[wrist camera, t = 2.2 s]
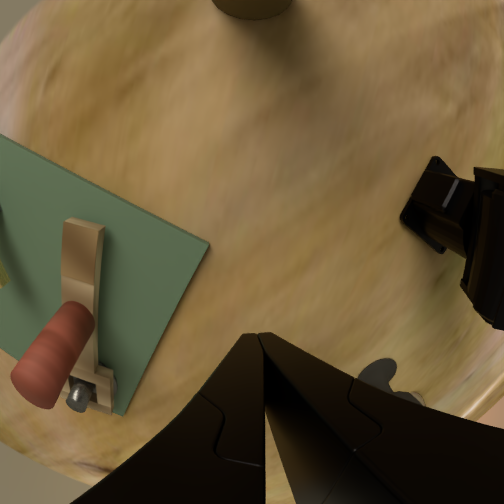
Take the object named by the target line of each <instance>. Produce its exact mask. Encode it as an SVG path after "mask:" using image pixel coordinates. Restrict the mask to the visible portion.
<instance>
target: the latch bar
mask: <svg viewBox="0 0 504 504" xmlns="http://www.w3.org/2000/svg"><path fill="white" fill-rule="evenodd" d="M105 227H106V226H105V225H101V224H97V223H93V222H90V221H86V220H82V219H78V218H75V217H71V218H69V219H67V220H65V221H64V222H63V233H62V249H61V296H62V306H61V307H60V308H59V309H58V311H57V312H56V313H55V314H54V316H53V317H52V318H51V319H50V321H49V322H48V323H47V324H46V326H45V327H44V328H43V329H42V331H41V332H40V333H39V335H38V336H37V337H36V339H35V340H34V341H33V342H32V344H31V345H30V347H29V348H28V349H27V351H26V352H25V353H24V355H23V356H22V358H21V359H20V360H19V362H18V363H17V365H16V366H15V368H14V369H13V370H12V372H11V381H12V383H13V385H14V387H15V388H16V390H17V391H18V392H19V393H20V394H21V395H22V396H23V397H24V398H25V399H26V400H27V401H29V402H30V403H32V404H33V405H35V406H37V407H40V408H43V409H51V408H53V407H54V405H55V403H56V401H57V399H58V397H59V395H60V397H61V398H64V399H67V397H68V395H69V393H70V390H71V388H72V386H73V384H74V380H73V376H74V377H77V378H80V379H82V380H85V381H88V382H91V383H94V384H96V390H97V393H94V392H93V393H92V395H91V398H90V400H89V403H88V405H87V407H88V408H91V409H94V410H97V411H100V412H103V413H106V414H109V415H112V412H113V409H114V388H113V370H112V369H109V368H106V367H103V366H99V365H98V302H99V285H100V271H101V260H102V251H103V242H104V234H105Z"/></svg>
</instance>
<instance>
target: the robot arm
mask: <svg viewBox="0 0 504 504" xmlns="http://www.w3.org/2000/svg"><path fill="white" fill-rule="evenodd" d="M436 160H437V164H436ZM474 175H475V182H474V181H470V180H466V179H462V178H458V177H457V176H456V175H455V174H454V173H453V172H452V170H451V169H450V168H449V167H448V166H447V165H446V164H445V162H444V161H443V160H442V159H441V158H440V157H439V156H433V157H432V158H431V160H430V162H429V164H428V166H427V167H426V169H425V171H424V172H423V174H422V176H421V178H420V180H419V182H418V184H417V185H416V187H415V189H414V191H413V193H412V194H411V197H410V199H409V200H408V202H407V204H406V206H405V207H404V209H403V211H402V213H401V215H400V220H401V221H402V222H403V223H404V224H405V225H406V226H407V227H409V228H410V229H411V230H412V231H413V232H415V233H416V234H417V235H418V236H419V237H420V238H422V239H423V240H424V241H425V242H426V243H427V244H428V245H429V246H431V247H432V248H433V249H434V250H435V251H436V252H437V253H439V254H443V253H444V252H445V251H446V249H447V248H448V249H450V250H452V251H454V252H455V253H457V254H459V255H460V256H462V257H464V258H465V259H466V263H465V269H464V274H463V278H462V279H461V283H460V287H461V288H462V289H463V291H464V292H465V294H466V295H467V297H468V298H469V299H470V301H471V302H472V304H473V308H474V309H475V311H476V312H477V313H479V315H480V316H481V317H482V318H483V319H484V320H485V322H487V323H489V324H491V325H492V327H493V328H494V329H498V330H503V331H504V170H503V169H494V168H483V167H474ZM406 215H407V218H406V219H405V216H406ZM441 247H442V248H441ZM440 249H441V250H440ZM265 412H266V415H267V419H268V422H269V425H270V428H271V431H272V434H273V437H274V440H275V443H276V446H277V449H278V452H279V455H280V458H281V461H282V464H283V467H284V470H285V473H286V476H287V479H288V482H289V485H290V487H291V490H292V493H293V496H294V499H295V502H296V504H504V429H501V428H497V427H493V426H489V425H485V424H481V423H478V422H474V421H471V420H467V419H464V418H460V417H457V416H454V415H450V414H447V413H444V412H441V411H438V410H435V409H432V408H429V407H426V406H423V405H420V404H417V403H414V402H411V401H408V400H405V399H403V398H400V397H397V396H395V395H392V394H390V393H387V392H385V391H383V390H380V389H378V388H376V387H374V386H372V385H370V384H367V383H365V382H363V381H361V380H359V379H357V378H355V379H354V377H352V376H350V375H349V374H347V373H345V372H343V371H341V370H339V369H337V368H335V367H333V366H331V365H329V364H328V363H326V362H324V361H322V360H320V359H318V358H316V357H315V356H313V355H311V354H309V353H307V352H305V351H304V350H302V349H300V348H298V347H296V346H295V345H293V344H291V343H289V342H288V341H286V340H284V339H282V338H280V337H279V336H277V335H275V334H274V333H272V332H264V333H258V334H256V333H247V334H242V335H241V336H240V338H239V339H238V340H237V342H236V343H235V344H234V346H233V347H232V348H231V350H230V351H229V352H228V354H227V355H226V356H225V358H224V359H223V360H222V361H221V363H220V364H219V365H218V367H217V368H216V369H215V371H214V372H213V373H212V374H211V376H210V377H209V378H208V380H207V381H206V382H205V383H204V385H203V386H202V387H201V389H200V390H199V391H198V392H197V393H196V394H195V395H194V397H193V398H192V399H191V400H190V402H189V403H188V404H187V405H186V406H185V407H184V409H183V410H182V411H181V412H180V413H179V414H178V415H177V416H176V417H175V418H174V419H173V420H172V421H171V422H170V423H169V424H168V425H167V426H166V427H165V428H164V429H163V430H161V431H160V432H159V433H158V434H157V435H156V436H155V437H153V438H152V439H151V440H150V441H149V442H148V443H146V444H145V445H144V446H143V447H142V448H141V449H139V450H138V451H137V452H136V453H135V454H133V455H132V456H131V457H130V458H129V459H127V460H126V461H125V462H124V463H122V464H121V465H120V466H119V467H117V468H116V469H115V470H114V471H112V472H111V473H110V474H109V475H107V476H106V477H105V478H103V479H102V480H101V481H100V482H98V483H97V484H96V485H94V486H93V487H92V488H90V489H89V490H88V491H86V492H85V493H84V494H82V495H81V496H80V497H78V498H77V499H75V500H74V501H73V502H71V503H70V504H266V472H265Z"/></svg>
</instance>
